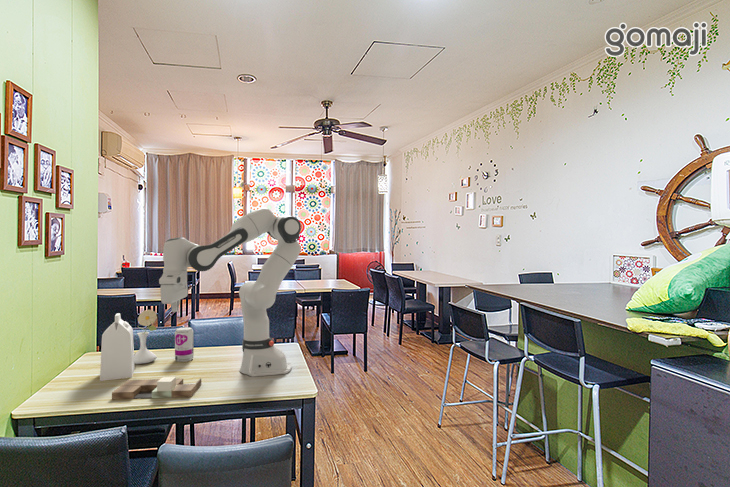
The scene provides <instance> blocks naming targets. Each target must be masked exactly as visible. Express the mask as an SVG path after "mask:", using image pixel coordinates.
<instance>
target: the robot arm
mask: <svg viewBox="0 0 730 487" xmlns="http://www.w3.org/2000/svg"><path fill="white" fill-rule="evenodd" d="M301 229H302V224H301V222H300V220H299V219H298V218H297V217H295V216H294V215H288V214H287V215H280V216H276V215H274V212H272V211H271V210H270V209H269V208H267V207H261V208H259V209H258V208H257V209H255V210H253V211H250V212H248V213H247V214H245V215H243V216H241V217H239V218H238V219H237V220H235V221H234V223H233V224H232V225H231V228H230V231H229V232H227V234H226V235H224V236H222V237H221V238H219V239H217V240H216V241H214V242H212V243H210V244H207V245H205V244H204V245H199V244H196V243H194V242H193V241H192V242H191V241H189V240H188V239H187V238H185V237H183V236H181V237H173V238H169V239H167V240H166V241H165V242H164V245H163V252H162V253H163V254H162V260H163V263H164V266H163V269H162V272H163V273H162V274H161V276H160V278H159V279H158V283H159V285H160V288H159V289H160V301H161V304H162V305H170V307H171V312H172V313H177V312H178V311H180V305H181V300H182V299H184V298H186V297H188V294H189V292H188V291H189V290H188V268H192V269H194V270H195V271H198V272H206V271H209V270H211V269H212V268H213V267H214V266H215V265H216V263H217V262H218V261H219V259H221V257H223V256H224V255H227V253H229V252H231V251H233V249H235V248H237V247H238V246H240V245H243V244H246V243H248V242H251V241H253V240H255V239H257V238H258V237H260V236H262V235H263V234H265V233H267V234H268V235H269V236H270V237H271V238H272V239H274V240H277V245H276V247H275V249H274V250H273V251H272V252H271V254H269V256H268V258H267V259H266V260H265V261H264V264H263V265H262V266H261V269H260V273H259V275H258V277H257V279H256V280H255V281H254V280H253V281H252V280H251V281H248V282H245V283H243V284H242V285H241V286H240V287H239V290H238V295H239V299H240V300H239V301H240V306H241V314H242V318H243V320H242V321H243V339H242V344H241V345H242V348H241V349H242V358H241V359H242V360H241V365H240V368H239V372H240V373H242V374H244V375H248V376H249V377H263V376H273V375H274V376H275V375H284V374H288V373H290V371H291V370H292V368H293V367H292V364H291V363H290V362H288V361H287V356H286V354H285V352H283V351H282V350H280V348H277V347H276V346H275V345H274V344H275V340H274V338H272V337H270V319H269V317H268V313H267V309H270V308H271V307H273V305H274V304H275V302H276V298H277V297H276V296H277V292H278V290H279V288H280V285H281V284H282V282H283V280H284V279H285V277H286V276H287V274H288V273H289V271H291V269H292V267H293V265H294V264H295V262H296V261H297V259H298V257H299V255H300V254H301V251H302V247H301V245H300V243H299V242H298V241H299V239H300V234H301Z"/></svg>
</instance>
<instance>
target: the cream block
mask: <svg viewBox="0 0 730 487" xmlns="http://www.w3.org/2000/svg"><path fill="white" fill-rule="evenodd" d="M159 379H160V380H159V381H157V391H171V390H172V389H174V388H175V387H176V379H177V377H176V376H162V377H161V378H159Z"/></svg>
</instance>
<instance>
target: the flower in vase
mask: <svg viewBox="0 0 730 487" xmlns="http://www.w3.org/2000/svg"><path fill="white" fill-rule="evenodd" d="M157 318H158V315H157V312H156V311H155V310H152V309H146V310H144V311H141V312H140V314H139V316H138V317H137V321H138V324H139V325H141V326H144V327H147V328H146V329H145V328H142V327H139V326H138V329H141V330H143V332H142V331H141V332H137V333H136V334H137V336H138V338H139V342H140V347H139V349H138V350H137V351H136V352H134V365H142V364H148V363H151V362H153V361H155V360H156V359H157V357H158V356H157V355H156V354H155V353H154V352H152V351H151V350H150V349H148V348H147V344H146V343H147V337H148V335H149V334H150V332H153V331H157V330H158V328H156V326H155V325H153V324H154V323H155V321H156V320H157ZM147 330H149V331H150V332H149V331H147Z"/></svg>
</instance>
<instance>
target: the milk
mask: <svg viewBox="0 0 730 487" xmlns="http://www.w3.org/2000/svg"><path fill="white" fill-rule="evenodd" d="M134 342H135V341H134V329H133V327H132V326H131V325H130V324H129V322H128V321H126V320H125V321H124V320H123V319H122V317H121V313H120V312H118V313H115V315H114V322H112V324H110V325H109V326H108V327H107V328H106V329H105V330H104V331H103V333H102V335H101V346H100V347H101V349H100V371H99V372H100V373H99V381H100V382H103V381H110V380H111V381H112V380H120V379H121V378H122V379H127V378H126V377H130V378H133V375H134V372H135V366H136V364H134V354H135V350H134V349H135V348H134Z"/></svg>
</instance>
